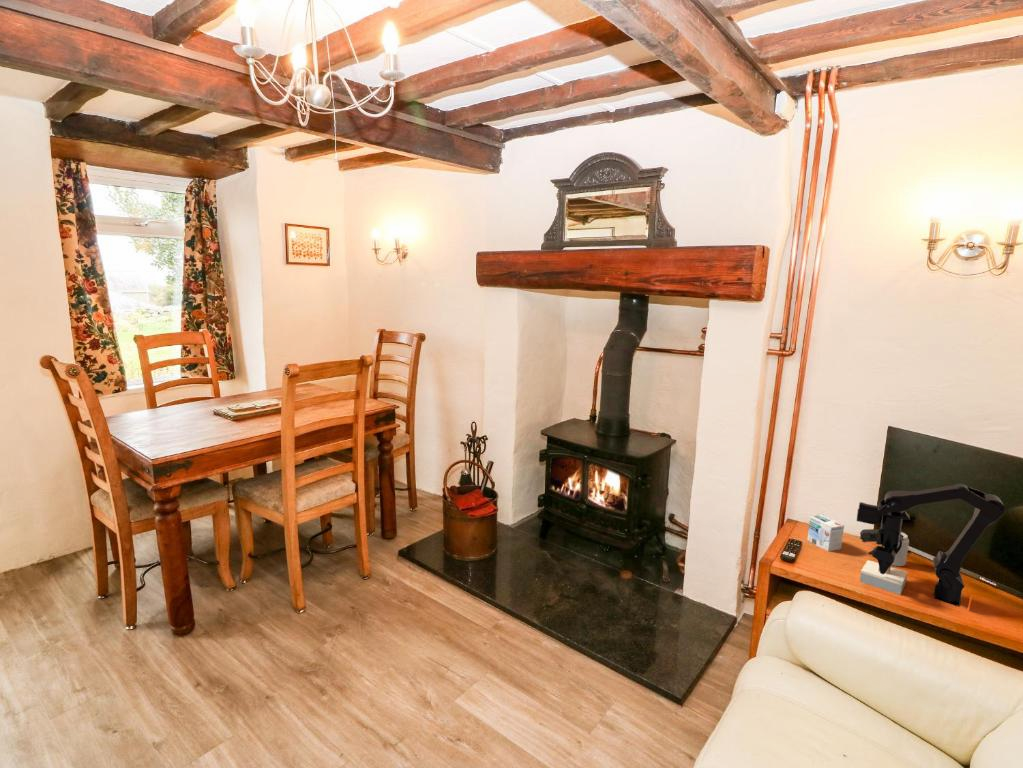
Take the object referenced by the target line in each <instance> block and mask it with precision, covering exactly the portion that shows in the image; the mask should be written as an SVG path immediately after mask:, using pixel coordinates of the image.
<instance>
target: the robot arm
mask: <svg viewBox="0 0 1023 768" xmlns="http://www.w3.org/2000/svg"><path fill="white" fill-rule="evenodd" d="M955 500H962V501H964V502H966V503H967V504H969V505H971V507H974V511H973V515H972V517H971V519H970V520H969V521H968V523H967V524H966V525H965V527H964V528H963V530H962V532H961V533H960V534H959V536H957V538H956V539H955V541H954V542H953V544H952V545H951V547H950V548H949V549H948V550H947V551H945V552H943V551H942V550H939V551H938V552H937V555H936V556H935V557H933V558H932V560H933V567H934V574H935V575H936V577H937V578H938V581H936V583H935V586H934V593H933V596H934V600H937V601H939V602H943V603H946V604H949V605H953V606H955V607H960V606H961V602H962V593H963V589H964V588H965V584H964V581H963V577H962V575H961V574H962V573H960V571H961V568H962V564H963V560H964V559H965V557H966V556H967V555H968V554H969V552H970V550H971V549H972V548H973V546H975V544H976V543H977V541H978V540H979V539H980V537H981V536H982V534H983V533H984V531H986V529H987V527H989V526H990V525H992V524H994V523H996V522H997V521H998V520H999V519H1000V518H1002V517H1003V516H1004V515H1005V513H1006V507H1005V505H1004V503H1003V501H1002V500H1001V498H1000V497H999V496H997V495H996V494H992V493H985V492H984V491H981V490H979V489H976V488H973V487H970V486H968V485H966V484H965V483H956V484H953V485H946V486H941V487H934V488H928V489H927V488H926V489H922V490H915V491H911V490H910V491H909V490H889V491H888V492H886V494H885V495H884V498H883V499H881V500H880V501H879V502H877V504H876V505H874V504H869V503H865V502H858V503H859V504H858V508H857V512H856V513H857V514H856V522H860V523H864V524H869V525H874V526H875V525H878V524H879V523H880V521H881V523H880V528H879V529H876V528H875V529H874V528H871V529H870V528H869V529H868V528H867V529H866V528H865V529H862V530H861V531H860V532H859V534H860V537H859V539H860V540H861V542H862V543H867V542H868V543H875V542H876V543H875V544H876V545H877V546H875V547H874V548H873V550H872V553H871V557H873V558H874V559H876V560H877V561H878V562H877V563H879V569H880V573H881V574H885V572H886V571H887V570H888V568H889V567H890V566H891V567H892V566H893V565H892V563H893V562H894V560H895V557H896V554H897V553H898V552H899V550H900V549H901V547H902V545H903V541H904V539H903V537H902V536H900V535H901V532H902V533H903V531H902V525H903V520H907V521H910V520H911V518H910V517H911V516H910V515H909V513H907V512H906V511H907V510H910V509H913V508H914V507H916V506H919V505H926V504H934V503H940V502H947V501H955ZM881 516H882V517H881ZM880 545H881V546H880Z"/></svg>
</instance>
